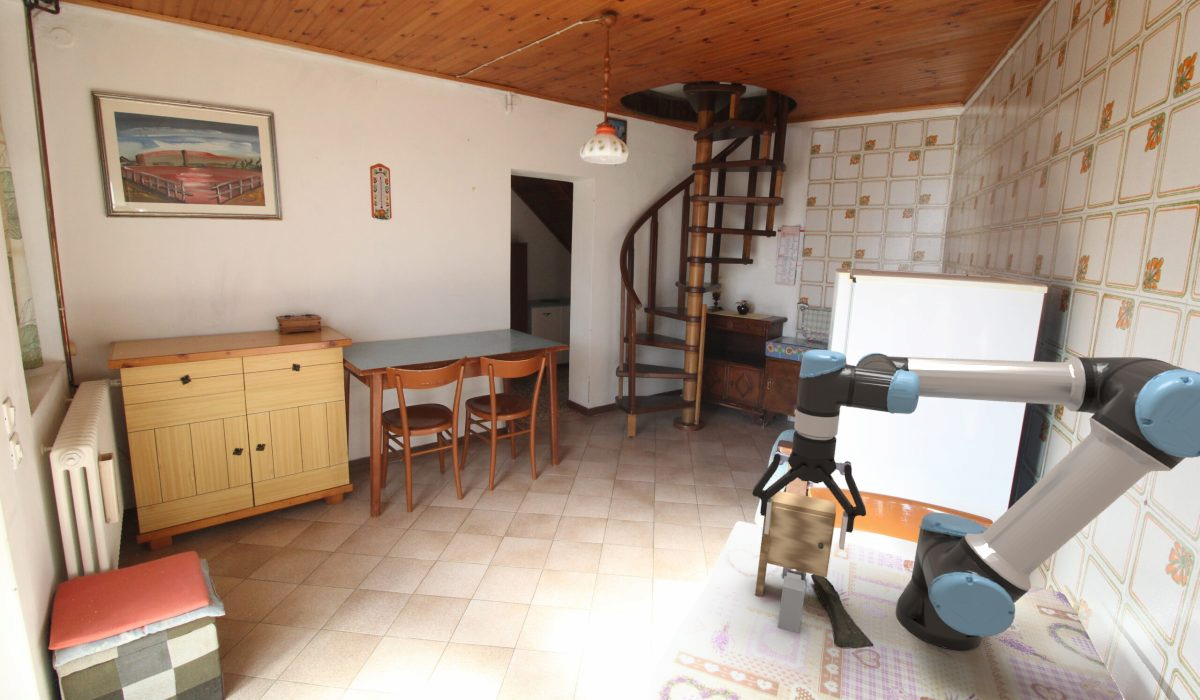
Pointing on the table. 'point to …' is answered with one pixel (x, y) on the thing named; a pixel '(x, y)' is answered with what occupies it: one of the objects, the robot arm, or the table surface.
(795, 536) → the wall cabinet
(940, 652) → the table surface
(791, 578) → the gray stepped block
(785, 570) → the grey short cylinder
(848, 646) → the tool
